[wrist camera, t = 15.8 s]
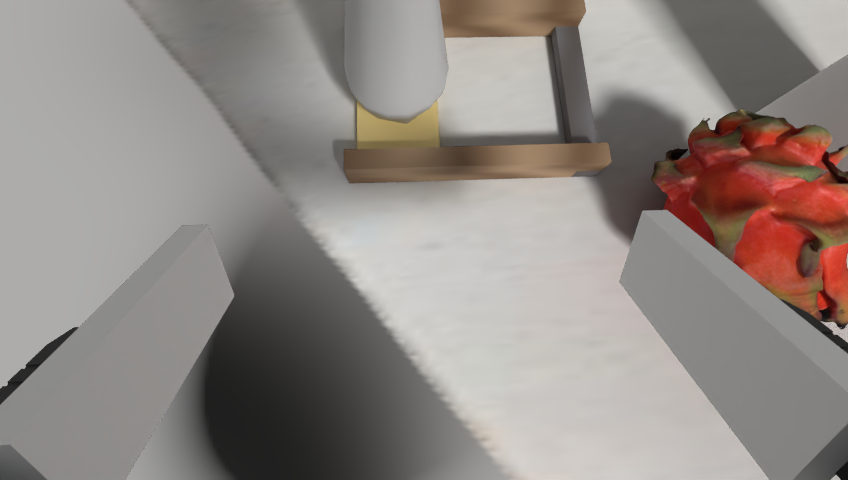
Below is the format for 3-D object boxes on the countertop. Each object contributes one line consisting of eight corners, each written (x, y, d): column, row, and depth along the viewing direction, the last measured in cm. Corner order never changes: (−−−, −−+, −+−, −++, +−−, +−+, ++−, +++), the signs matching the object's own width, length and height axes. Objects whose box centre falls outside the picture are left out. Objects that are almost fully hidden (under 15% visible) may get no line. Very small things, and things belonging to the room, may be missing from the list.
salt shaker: (335, 114, 23) (243, -142, 11) (375, 42, 25) (336, -262, 12) (422, 150, 23) (434, -71, 10) (458, 75, 24) (508, -203, 12)
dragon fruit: (642, 150, 26) (713, 318, 25) (591, 159, 20) (681, 379, 19) (816, 74, 19) (918, 296, 19) (815, 56, 14) (962, 376, 13)
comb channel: (570, 20, 26) (583, -5, 24) (595, 176, 23) (611, 162, 21) (350, 23, 25) (345, -2, 23) (349, 183, 23) (343, 169, 21)
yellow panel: (432, 38, 25) (433, 34, 25) (439, 160, 23) (440, 157, 23) (357, 40, 25) (356, 35, 25) (358, 162, 23) (356, 159, 23)
